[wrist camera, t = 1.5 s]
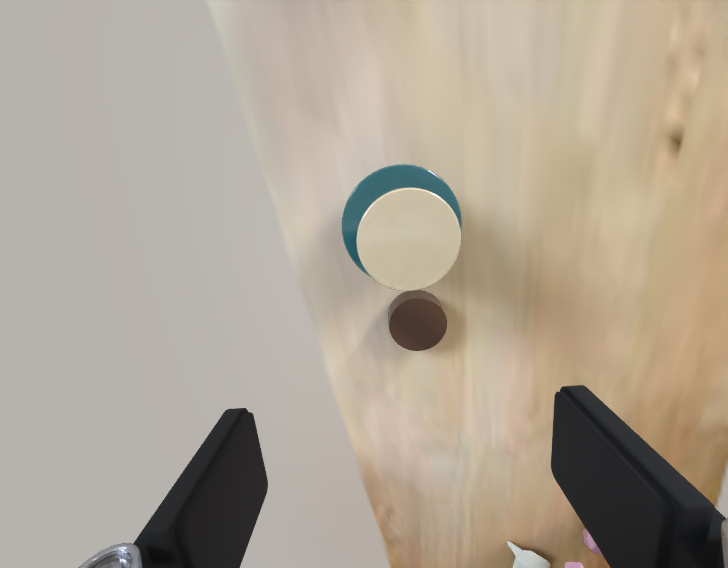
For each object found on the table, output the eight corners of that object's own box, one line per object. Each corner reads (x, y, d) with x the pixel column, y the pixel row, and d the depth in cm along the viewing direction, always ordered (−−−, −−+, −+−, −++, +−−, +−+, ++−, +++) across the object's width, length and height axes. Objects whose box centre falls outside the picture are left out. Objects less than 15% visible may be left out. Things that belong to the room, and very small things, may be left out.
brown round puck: (413, 278, 31) (416, 286, 29) (453, 312, 32) (459, 322, 30) (377, 317, 33) (377, 328, 30) (416, 349, 33) (419, 361, 31)
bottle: (389, 151, 28) (401, 120, 14) (451, 207, 29) (522, 232, 15) (337, 218, 30) (299, 251, 16) (397, 268, 31) (414, 342, 17)
